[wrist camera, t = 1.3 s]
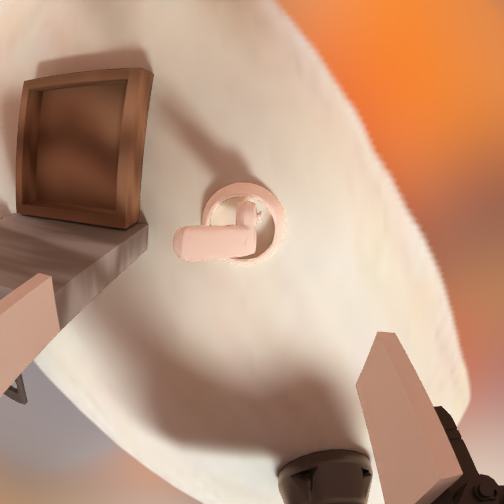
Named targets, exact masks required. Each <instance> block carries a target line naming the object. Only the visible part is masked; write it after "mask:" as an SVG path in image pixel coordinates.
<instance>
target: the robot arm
mask: <svg viewBox="0 0 504 504" xmlns="http://www.w3.org/2000/svg"><path fill="white" fill-rule="evenodd" d="M59 332H60V326H59V321H58V316H57V310H56V304H55V298H54V291H53V284H52V276H49V275H45V274H41V273H38V274H36V275H35V276H34V277H32V278H31V279H29V280H28V281H26V282H25V283H23V284H22V285H21V286H19V287H18V288H16V289H15V290H14V291H12V292H11V293H9V294H8V295H7V296H5V297H4V298H2V299H1V300H0V397H1V396H2V395H3V393H4V392H5V391H6V390H7V389H8V388H9V386H10V385H11V384H12V383H13V382H14V381H15V380H16V378H17V377H18V376H19V375H20V374H21V373H22V372H23V371H24V369H25V368H26V367H27V366H28V365H29V364H30V363H31V362H32V361H33V360H34V358H35V357H36V356H37V355H38V354H39V353H40V352H41V351H42V350H43V349H44V348H45V347H46V346H47V345H48V343H49V342H50V341H51V340H52V339H53V338H54V337H55V336H56V335H57V334H58V333H59ZM356 388H357V392H358V395H359V399H360V402H361V406H362V410H363V414H364V417H365V421H366V425H367V429H368V433H369V437H370V441H371V445H372V449H373V453H374V457H375V461H376V465H377V470H378V474H379V478H380V483H381V487H382V492H383V497H384V501H385V504H504V486H499V485H498V484H497V483H496V482H495V480H494V479H492V478H491V477H489V476H487V475H482V474H480V475H479V473H478V472H477V470H476V468H475V465H474V463H473V461H472V458H471V456H470V454H469V452H468V450H467V447H466V445H465V443H464V441H463V440H462V439H461V435H460V433H459V431H458V430H457V427H456V425H455V423H454V421H453V419H452V417H451V415H450V414H449V413H448V412H447V411H446V410H445V409H444V408H443V407H442V406H438V407H433V405H432V403H431V401H430V399H429V397H428V395H427V393H426V391H425V389H424V387H423V385H422V383H421V381H420V379H419V377H418V375H417V373H416V371H415V369H414V367H413V365H412V363H411V362H410V360H409V358H408V356H407V354H406V352H405V350H404V348H403V347H402V345H401V343H400V341H399V339H398V337H397V336H396V334H395V333H389V332H377V335H376V337H375V340H374V342H373V345H372V347H371V350H370V352H369V355H368V357H367V360H366V362H365V365H364V367H363V369H362V372H361V374H360V376H359V379H358V381H357V383H356ZM371 481H372V468H371V463H370V460H369V459H368V458H367V457H366V456H365V455H363V454H361V453H358V452H354V451H346V450H334V451H324V452H318V453H314V454H310V455H306V456H303V457H301V458H298V459H296V460H294V461H292V462H290V463H289V464H287V465H286V466H285V467H284V468H283V469H282V470H281V471H280V473H279V480H278V487H279V491H280V494H281V496H282V498H283V501H284V503H285V504H367V502H368V497H369V492H370V486H371Z"/></svg>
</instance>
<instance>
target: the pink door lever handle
mask: <svg viewBox="0 0 504 504" xmlns="http://www.w3.org/2000/svg"><path fill="white" fill-rule="evenodd" d="M240 196H243V197H250V198H253V199H256V200H257V201H259V202H261V203H262V204H263V205H265V206H266V207H267V209H268V210H269V211H270V213H271V215H272V217H273V220H274V223H275V234H274V238H273V241H272V243H271V245H270V247H269V248H268V249H267V250H266V251H265V252H264V253H263V254H261V255H259V256H257V257H254V258H251V259H236V258H233V257H243V256H247V255H250V254H253V253H255V250H256V224H257V219H259V221H260V222H262V211H260V212H259V213H257V208H256V207H255V203H253V202H249V201H243V202H240V203H238V204H237V209H236V225H227V226H210V220H211V216H212V214H213V212H214V211H215V209H216V208H217V207H218V206H219V205H220V204H221V203H222V202H224V201H226V200H228V199H230V198H233V197H240ZM285 233H286V216H285V213H284V209H283V207H282V206H281V204H280V202H279V201H278V199H277V198H276V197H275V196H274V195H273V194H272V193H271V192H270V191H268V190H267V189H265V188H263V187H261V186H259V185H256V184H253V183H245V182H241V183H233V184H230V185H227V186H225V187H223V188H221V189H219V190H218V191H217V192H216V193H215V194H213V195H212V197H211V198H210V199H209V200H208V202H207V204H206V206H205V208H204V211H203V214H202V226H186V227H183V228H180V229H178V230H177V231H176V233H175V235H174V241H173V247H174V251H175V253H176V254H177V255H178V257H180V258H181V259H182V260H184V261H187V262H190V261H203V260H213V259H223V260H225V261H227V262H229V263H232V264H236V265H253V264H256V263H260V262H262V261H264V260H266V259H268V258H269V257H270V256H272V255H273V254H274V253H275V252H276V251H277V250H278V248H279V247H280V245H281V243H282V242H283V239H284V236H285Z"/></svg>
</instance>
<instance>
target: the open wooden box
mask: <svg viewBox="0 0 504 504" xmlns="http://www.w3.org/2000/svg"><path fill="white" fill-rule="evenodd" d="M153 76H154V74H152V73H150V72H148V71H146V70H144V69H143V68H121V69H106V70H95V71H86V72H77V73H69V74H62V75H56V76H49V77H44V78H38V79H33V80H28V81H24V85H23V92H22V98H21V106H20V115H19V124H18V136H17V154H16V209H17V213H14V214H12V215H9V216H6V217H4V218H1V219H0V300H1V299H2V298H4V297H5V296H7V295H8V294H9V293H11V292H12V291H14V290H15V289H16V288H18V287H19V286H21V285H22V284H23V283H25V282H26V281H28V280H29V279H31V278H32V277H34V276H35V275H36V274H38V273H41V274H45V275H49V276H52V284H53V291H54V298H55V304H56V310H57V316H58V321H59V326H60V331H61V330H62V329H63V328H64V327H65V326H66V325H67V324H68V323H69V322H70V321H71V320H72V319H73V318H74V317H75V316H76V315H77V314H78V313H79V312H80V311H81V310H82V309H83V308H84V307H85V306H86V305H87V304H88V303H89V302H90V301H91V300H92V299H93V298H94V297H95V296H97V295H98V294H99V293H100V292H101V291H102V290H103V289H104V288H105V287H106V286H107V285H108V284H109V283H110V282H111V281H113V280H114V279H115V278H116V277H117V276H118V275H119V274H120V273H121V272H122V271H123V270H125V269H126V268H127V267H128V266H129V265H130V264H131V263H132V262H133V261H135V260H136V259H137V258H138V257H139V256H140V255H141V254H142V253H143V252H145V251H146V250H147V240H148V224H141V223H136V222H137V221H139V205H140V188H141V175H142V163H143V152H144V142H145V133H146V125H147V117H148V109H149V102H150V95H151V89H152V82H153Z"/></svg>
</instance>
